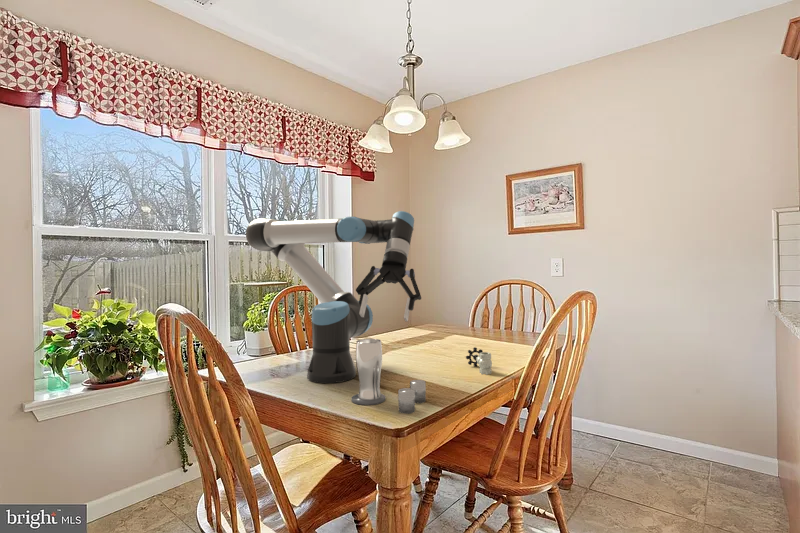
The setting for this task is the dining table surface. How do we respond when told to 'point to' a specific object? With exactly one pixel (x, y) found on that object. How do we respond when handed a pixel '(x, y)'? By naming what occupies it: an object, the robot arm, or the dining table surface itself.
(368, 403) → the coaster
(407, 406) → the cylinder
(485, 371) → the valve
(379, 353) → the beer glass
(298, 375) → the dining table surface
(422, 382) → the cylinder
